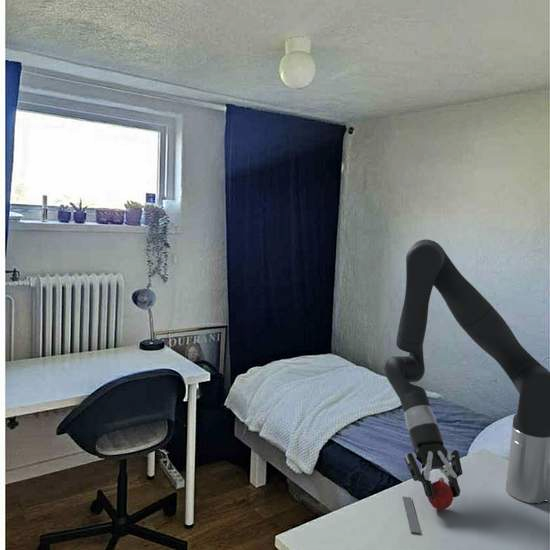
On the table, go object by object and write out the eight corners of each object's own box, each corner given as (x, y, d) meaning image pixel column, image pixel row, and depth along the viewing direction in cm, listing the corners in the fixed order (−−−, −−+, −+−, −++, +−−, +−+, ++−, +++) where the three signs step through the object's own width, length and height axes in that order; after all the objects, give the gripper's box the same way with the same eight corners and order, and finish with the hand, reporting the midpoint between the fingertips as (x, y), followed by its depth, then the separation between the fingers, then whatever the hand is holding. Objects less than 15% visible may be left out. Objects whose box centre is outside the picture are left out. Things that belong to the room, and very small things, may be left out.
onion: (453, 519, 114) (456, 486, 113) (427, 515, 115) (430, 482, 114) (449, 505, 119) (452, 474, 118) (425, 501, 120) (427, 470, 120)
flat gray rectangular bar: (410, 498, 121) (411, 497, 121) (420, 534, 107) (420, 532, 107) (402, 497, 121) (402, 496, 121) (411, 533, 108) (411, 531, 108)
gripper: (402, 423, 120) (423, 495, 110) (454, 420, 124) (479, 490, 114) (391, 434, 126) (410, 504, 116) (441, 431, 129) (464, 499, 119)
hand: (444, 497), depth 115 cm, fingers closed on onion, 5 cm apart
